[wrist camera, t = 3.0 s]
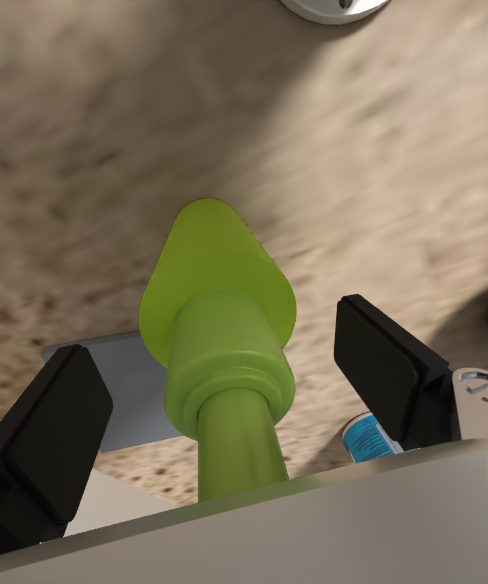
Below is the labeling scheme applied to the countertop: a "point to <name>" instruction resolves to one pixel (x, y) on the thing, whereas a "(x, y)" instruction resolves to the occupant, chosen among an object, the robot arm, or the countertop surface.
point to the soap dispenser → (222, 346)
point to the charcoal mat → (129, 389)
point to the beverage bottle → (368, 439)
